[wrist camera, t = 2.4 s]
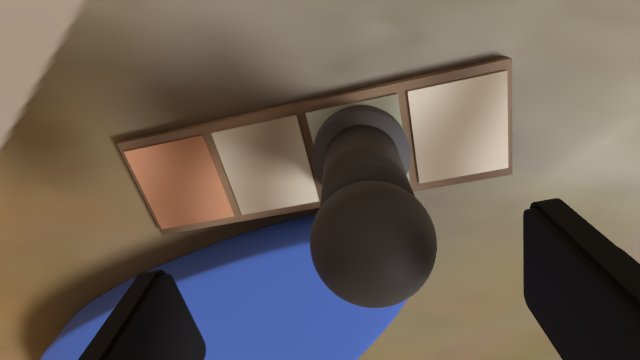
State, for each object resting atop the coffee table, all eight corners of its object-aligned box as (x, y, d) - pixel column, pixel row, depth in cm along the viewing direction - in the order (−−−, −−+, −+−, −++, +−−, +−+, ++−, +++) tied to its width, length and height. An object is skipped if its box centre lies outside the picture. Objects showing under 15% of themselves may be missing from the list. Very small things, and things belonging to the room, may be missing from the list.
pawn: (400, 96, 15) (460, 198, 8) (412, 182, 17) (470, 335, 9) (303, 116, 16) (271, 230, 8) (324, 198, 17) (313, 353, 10)
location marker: (324, 112, 17) (26, 350, 24) (322, 137, 14) (-18, 401, 21) (472, 290, 21) (180, 446, 29) (495, 339, 18) (161, 500, 26)
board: (506, 56, 15) (513, 58, 14) (507, 169, 17) (513, 175, 16) (122, 139, 17) (115, 144, 17) (166, 229, 19) (161, 236, 19)
